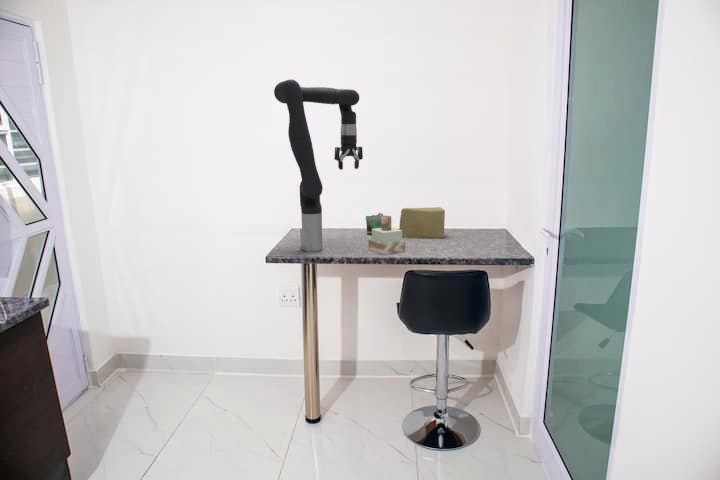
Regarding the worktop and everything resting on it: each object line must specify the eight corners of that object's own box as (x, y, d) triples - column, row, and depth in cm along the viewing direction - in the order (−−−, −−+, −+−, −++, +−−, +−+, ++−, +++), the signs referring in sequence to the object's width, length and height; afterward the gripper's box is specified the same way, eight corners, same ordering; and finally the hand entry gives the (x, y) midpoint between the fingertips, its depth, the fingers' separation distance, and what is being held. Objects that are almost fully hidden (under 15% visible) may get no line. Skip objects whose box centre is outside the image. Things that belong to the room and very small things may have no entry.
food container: (375, 236, 261) (375, 217, 259) (365, 234, 265) (365, 215, 263) (388, 232, 271) (388, 213, 268) (379, 230, 274) (379, 212, 272)
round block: (384, 230, 227) (384, 217, 226) (379, 229, 231) (379, 216, 230) (393, 229, 230) (393, 216, 228) (387, 228, 234) (387, 215, 232)
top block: (383, 243, 225) (383, 232, 224) (371, 239, 233) (371, 228, 232) (402, 241, 230) (402, 230, 228) (389, 237, 238) (390, 226, 237)
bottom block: (383, 255, 224) (383, 244, 223) (368, 250, 234) (368, 239, 233) (404, 252, 231) (405, 241, 230) (389, 246, 241) (389, 236, 239)
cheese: (400, 239, 254) (401, 209, 251) (398, 235, 264) (398, 206, 260) (444, 238, 256) (445, 209, 252) (440, 234, 265) (441, 206, 262)
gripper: (339, 134, 231) (339, 170, 234) (365, 134, 238) (365, 169, 242) (331, 134, 237) (331, 169, 240) (357, 134, 244) (357, 167, 248)
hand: (348, 169), depth 241 cm, fingers open, 8 cm apart
